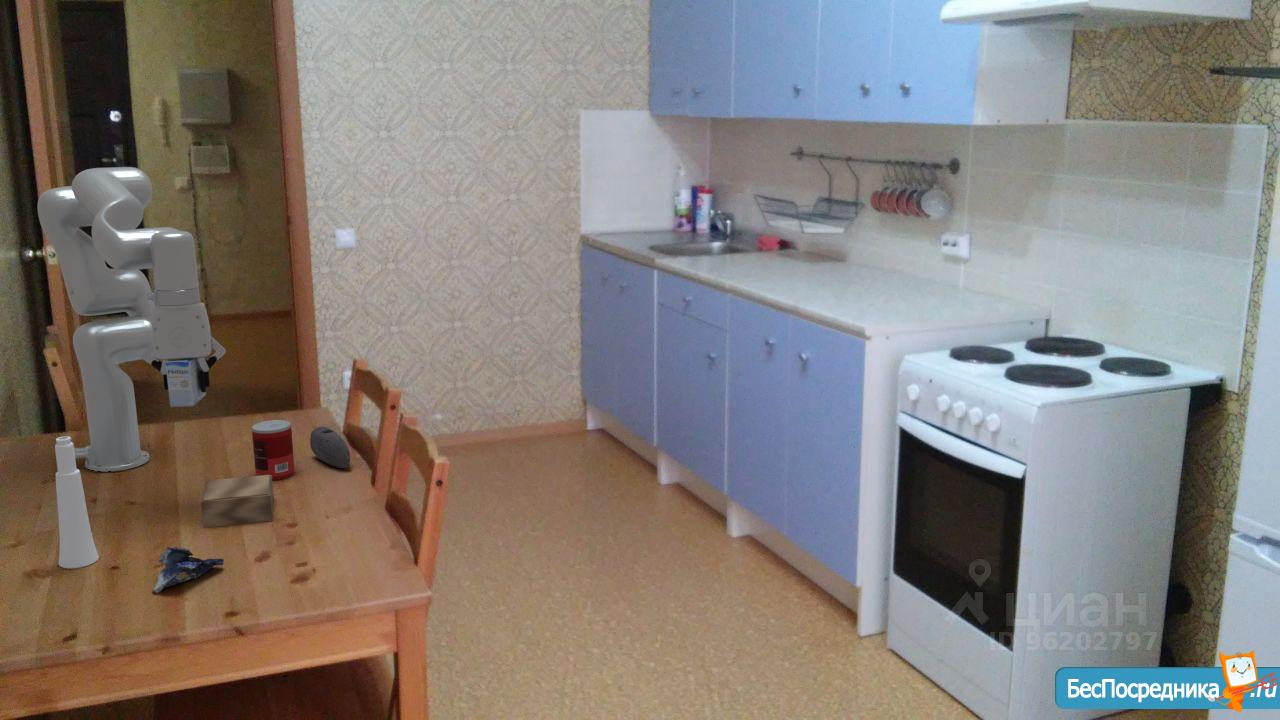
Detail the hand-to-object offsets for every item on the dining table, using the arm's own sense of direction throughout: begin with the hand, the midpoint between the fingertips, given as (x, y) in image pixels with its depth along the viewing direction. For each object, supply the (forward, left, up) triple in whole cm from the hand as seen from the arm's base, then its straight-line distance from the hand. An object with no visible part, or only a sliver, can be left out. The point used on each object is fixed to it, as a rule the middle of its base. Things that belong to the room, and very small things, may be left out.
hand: (187, 391), depth 202 cm
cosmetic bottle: (-17, -23, -23) cm, 37 cm away
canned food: (+14, +14, -23) cm, 30 cm away
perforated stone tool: (+26, +18, -23) cm, 39 cm away
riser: (+8, -7, -23) cm, 25 cm away
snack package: (+1, -35, -23) cm, 42 cm away
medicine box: (0, 0, -2) cm, 2 cm away
